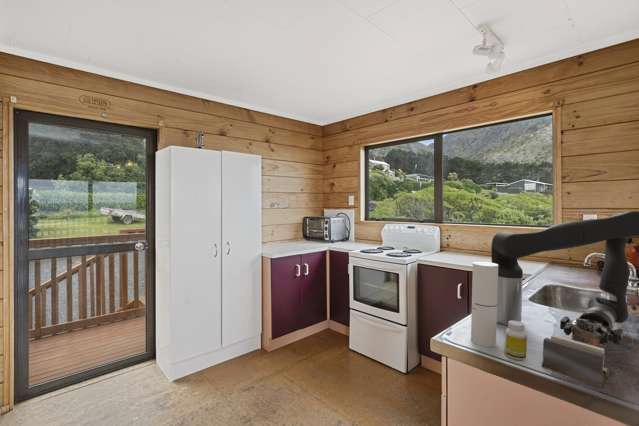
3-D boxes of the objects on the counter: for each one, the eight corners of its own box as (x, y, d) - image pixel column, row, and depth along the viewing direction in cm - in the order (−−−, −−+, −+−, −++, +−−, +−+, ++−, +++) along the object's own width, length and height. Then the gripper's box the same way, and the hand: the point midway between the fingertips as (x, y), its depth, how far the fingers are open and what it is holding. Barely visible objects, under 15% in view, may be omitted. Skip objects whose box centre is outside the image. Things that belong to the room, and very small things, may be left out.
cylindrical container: (486, 348, 97) (488, 267, 96) (466, 339, 104) (467, 262, 102) (501, 343, 101) (503, 264, 99) (480, 335, 107) (482, 260, 106)
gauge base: (554, 353, 94) (555, 328, 94) (610, 371, 85) (611, 343, 84) (541, 366, 87) (542, 339, 87) (601, 387, 77) (602, 357, 77)
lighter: (567, 348, 96) (568, 315, 96) (577, 347, 96) (579, 315, 96) (592, 362, 88) (593, 326, 88) (603, 361, 88) (605, 326, 88)
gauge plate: (551, 355, 90) (552, 334, 90) (606, 372, 81) (607, 349, 81) (550, 357, 89) (551, 336, 89) (605, 374, 80) (606, 351, 80)
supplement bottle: (529, 361, 90) (530, 327, 89) (508, 359, 91) (509, 325, 90) (521, 352, 95) (522, 320, 94) (501, 350, 96) (502, 318, 95)
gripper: (569, 303, 106) (553, 315, 96) (628, 316, 95) (618, 331, 85) (568, 326, 107) (553, 340, 96) (627, 340, 96) (617, 359, 85)
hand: (583, 336), depth 91 cm, fingers closed on lighter, 7 cm apart
